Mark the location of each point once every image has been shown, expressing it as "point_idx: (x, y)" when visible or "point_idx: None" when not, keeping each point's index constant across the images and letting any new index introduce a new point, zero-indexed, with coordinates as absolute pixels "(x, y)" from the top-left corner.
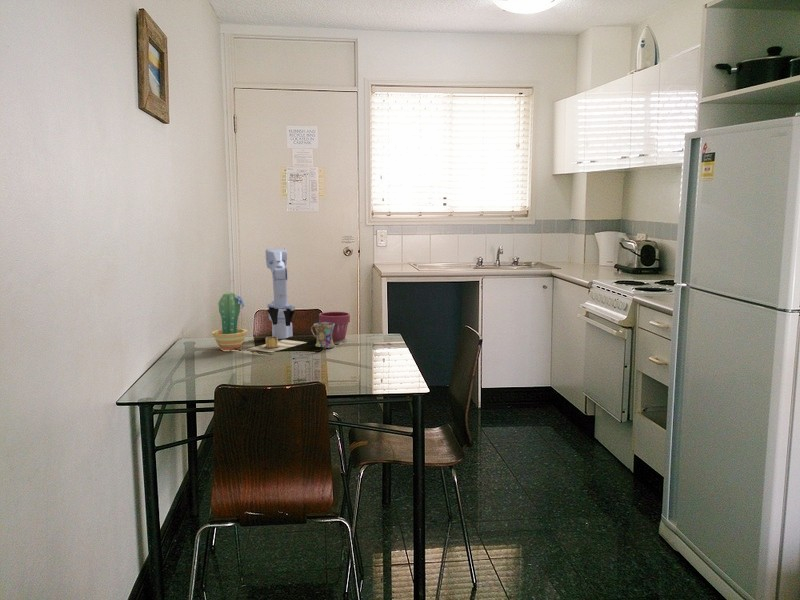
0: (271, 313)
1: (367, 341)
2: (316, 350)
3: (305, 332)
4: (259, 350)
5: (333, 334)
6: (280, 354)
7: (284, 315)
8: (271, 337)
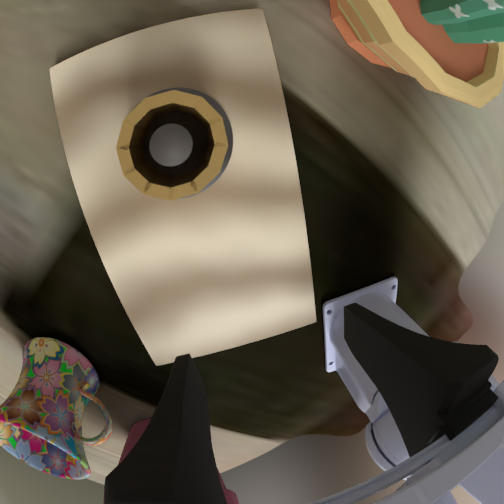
0: (425, 364)
1: (103, 460)
2: (23, 313)
3: (362, 415)
4: (148, 28)
5: (126, 448)
6: (33, 120)
7: (392, 427)
8: (206, 166)
